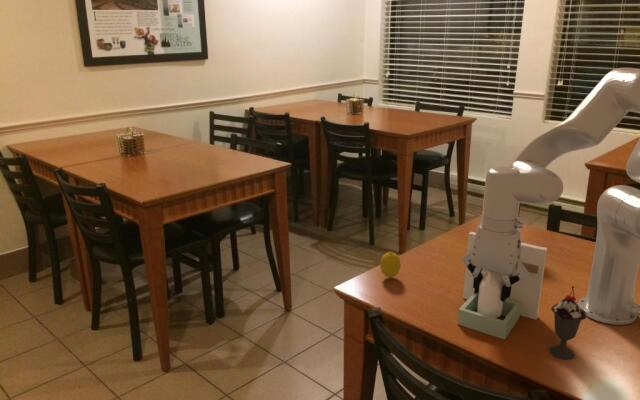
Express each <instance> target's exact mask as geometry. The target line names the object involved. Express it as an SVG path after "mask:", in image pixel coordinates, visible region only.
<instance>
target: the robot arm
mask: <svg viewBox="0 0 640 400" xmlns="http://www.w3.org/2000/svg"><path fill="white" fill-rule="evenodd" d="M629 112H632V113H636V114H640V68H636V67H619V68H618V67H617V68H614V69H612V70H610V71H609V72H607V73H606V74H605V75H604V76H603V77H602V78H601V79H600V80H599V82H598V83H597V84H596V85H595V86H594V88H592V90H591V91H590V92H589V93H588V94H587V95H586V96H585V98H583V100H582V101H581V102H580V103H579V105H577V107H576V108H575V109H574V110H573V111H572V112H571V114H570V115H569V116H568V117H566V119H565V120H563V121H562V122H560V123H559V124H555V126H553V127H551V128H549V129H548V130H547V131H545V132H543V133H541V134H540V135H538V136H537V137H535V138H534V139H533V140H531V141H530V142H529V143H528V144H526V146H525V147H524V148H523V149H522V151H520V153H519V154H518V155H517V156H516V157H515V159H514V160H513V161H512V162H511V164H510V166H493V167H491V168H489V169H488V170H487V172H486V175H485V183H484V191H483V192H484V195H483V203H482V211H481V213H482V214H481V220H480V221H481V222H480V223H479V224H478V226H477V227H476V232H475V233H476V234H475V238H474V243H473V247H472V251H470V252H469V253H468V254H467V253H466V254H464V255H463V257H461V262H463V264H465V267H466V266H467V268H468V269H469V270H470V272H471V273H472V276H473V277H474V281H473V288H475V290H474V293H475V294H478V293H479V284H480V282H481V280H482V279H483V274H482V273H481V272H482V270H483V269H486V270H489V271H493V272H497V273H501V274H503V278H504V282H505V283H504V285H503V287H502V294H501V301H502V302H504V301H505V300H506V299H507V298H509V297H510V294H511V287H512V284H514V283H516V282H518V281H519V280H522V279H524V278H526V277H527V276H528V275H529V272H528V271H527V269H526V268H525V267H524V265H523V264H522V262H521V261H520V259H521V243H522V236H521V234H522V233H521V230H520V229H524V226H525V222H523V221H520V216H519V217H518V212H519V204H521V203H526V204H533V205H548V204H551V203H554V202H556V201H557V200H558V199H559V198H561V196H562V194H563V192H564V183H563V180H562V178H561V177H560V176H559V175H558V174H556V173H555V172H554V171H553V170H550V169H547V168H548V166H549V165H550V164H551V163H553V162H554V160H556V159H557V158H559V157H561V156H564V155H565V154H567V153H571V152H574V151H580V150H586V149H589V148H593V147H597V146H598V145H600V144H601V143H602V142H603V141H604V139H606V137H608V135H609V134H610V133H611V132H612V131H613V130H614V129H615V127H617V125H618V124H619V123H620V122H621V121H622V120H623V118H624V117H626V116H627V114H628V113H629ZM630 153H631V154H630V156H629V158H628V160H627V162H626V165H625V170H626V174H627V177H629V178H630V179H631V180H633V181H635V182H637V183H639V184H640V138H639V139H638V141H637V143H636V144H635V146H634V148H633V149H632V152H630ZM596 205H597V206H596V217H597V218H596V219H597V229H596V230H597V231H596V239H595V240H596V241H595V246H594V252H593V258H592V263H591V269H590V276H589V281H588V288H587V294H586V295H585V296H583V297H580V299H579V300H578V305H579V306H580V308H581V309H583V310H584V311H585V312H586V317H588V318H590V319H592V320H594V321H597V322H600V323H604V324H607V325H608V324H609V325H614V326H625V325H626V326H627V325H629V324H633V323H634V322H635V321H636V320H637V316H640V303H638V302H636V301H635V298H636V296H635V295H634V293H635V287H636V282H637V278H638V273H639V268H640V189H638V188H636V187H633V186H629V185H624V184H620V185H619V184H617V185H613V186H610V187H609V188H606V189H605V190H604V191H603V192H602V194H601V195H600V196H599V198H598V201H597V204H596ZM518 219H519V220H518ZM470 258H471V260H470ZM515 269H517V270H518V271H519V274H516V275H515V276H513V274H514V272H515Z"/></svg>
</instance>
